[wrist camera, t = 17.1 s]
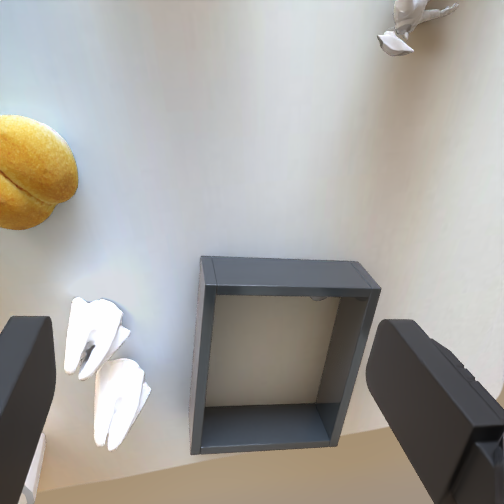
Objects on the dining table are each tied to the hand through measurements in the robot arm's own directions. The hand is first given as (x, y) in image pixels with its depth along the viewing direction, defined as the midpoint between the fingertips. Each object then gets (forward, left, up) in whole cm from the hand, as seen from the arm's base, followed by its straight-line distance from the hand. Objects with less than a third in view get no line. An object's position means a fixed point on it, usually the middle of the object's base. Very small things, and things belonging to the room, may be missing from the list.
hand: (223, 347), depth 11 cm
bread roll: (-13, -4, -28) cm, 31 cm away
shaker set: (-6, -21, -28) cm, 36 cm away
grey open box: (+10, -21, -28) cm, 36 cm away
